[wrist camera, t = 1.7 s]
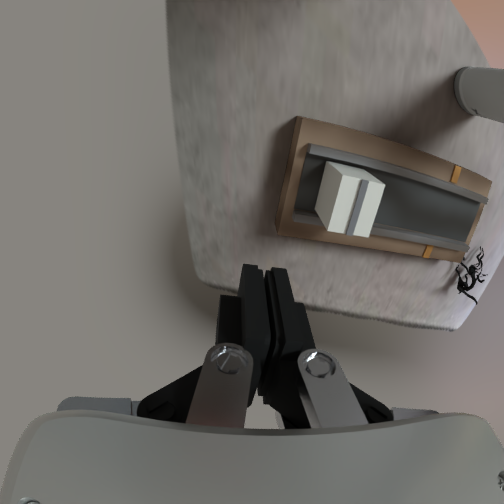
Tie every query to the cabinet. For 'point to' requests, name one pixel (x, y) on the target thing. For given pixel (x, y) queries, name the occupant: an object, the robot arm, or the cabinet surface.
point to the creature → (472, 273)
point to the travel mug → (481, 92)
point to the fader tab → (348, 199)
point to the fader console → (394, 195)
